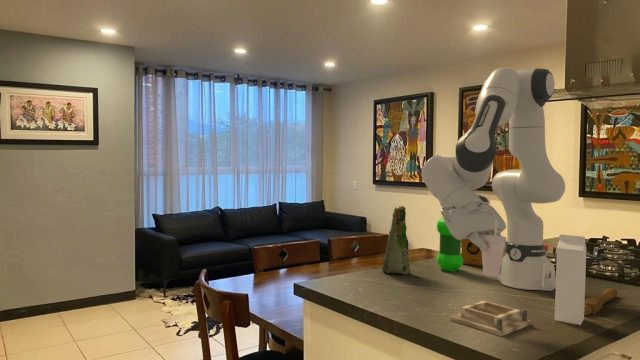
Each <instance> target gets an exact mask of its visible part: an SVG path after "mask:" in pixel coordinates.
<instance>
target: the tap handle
mask: <svg viewBox="0 0 640 360" xmlns="http://www.w3.org/2000/svg"><path fill="white" fill-rule="evenodd" d="M617 296H618V291H617V289H615V288H614V287H610V288H607V289H606V290H604V291H603V292H602V293H600V294H599V295H598V296H596V297H594V296H589V297H588V298H586V299H585V304H584V315H585V316H584V317H587V316H590V315H595V314H597V313H598V312H599V310H600V309H601V310H602V309H603V305H604V304H605V303H607V302H609V301H612V300H613V299H614V298H616V297H617ZM601 310H600V311H601ZM596 312H597V313H596Z"/></svg>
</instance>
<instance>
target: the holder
mask: <svg viewBox="0 0 640 360" xmlns="http://www.w3.org/2000/svg"><path fill="white" fill-rule="evenodd" d="M449 318H450V319H449V320H450V321H452V322H454V323H458V324H461V325H464V326H467V327H470V328H473V329H477V330H480V331H483V332H486V333H489V334H492V335H496V336H499V337H503V336H506V335H508V334H510V333H514V332H516V331H519V330H522V329H523V328H526V327H530V326H532V320H530V319H528V310H527V309H522V310H521V309H518V308H513V307H510V306H506V305H502V304H498V303H494V302H490V301H486V300H481V301H478V302H474V303H471V304H467V305H464V306H461V307H460V313H458V314H454V315H450V317H449Z"/></svg>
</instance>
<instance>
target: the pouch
mask: <svg viewBox="0 0 640 360" xmlns="http://www.w3.org/2000/svg"><path fill="white" fill-rule="evenodd" d="M406 214H407V212H406V207H405V206H404V205H403V206H402V205H399V207H398V208H397V207H395V208H394V210H393V213H392V219H391V225H390V230H389V232H388V238H387V242H386V248H385V254H384V259H383V263H382V268H381V271H383V272H384V273H385V272H386V274H389V273H390V274H399V275H403V276H407V275H409V274H410V273H411V269H410V268H411V266H410V261H409V260H410V258H409V257H410V256H409V251H408V249H407V241H408V237H407V223H406Z"/></svg>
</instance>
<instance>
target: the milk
mask: <svg viewBox="0 0 640 360" xmlns="http://www.w3.org/2000/svg"><path fill="white" fill-rule="evenodd" d="M558 239H559V241H558V243H557V246H556V261H555V263H556V265H555V266H556V267H555V269H556V270H555V278H556V288H555V294H554V295H555V298H554V299H555V300H554V321H557V322H560V323H561V322H562V323H568V324H572V325H577V324H578V326H581V325H582V324H583V322H584V320H585V316H584V304H585V300H586V299H585V298H586V297H585V296H586V274H587V273H586V270H587V266H586V265H587V245H586V237H585V236H580V235H572V234H571V235H569V234H559V237H558Z"/></svg>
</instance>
